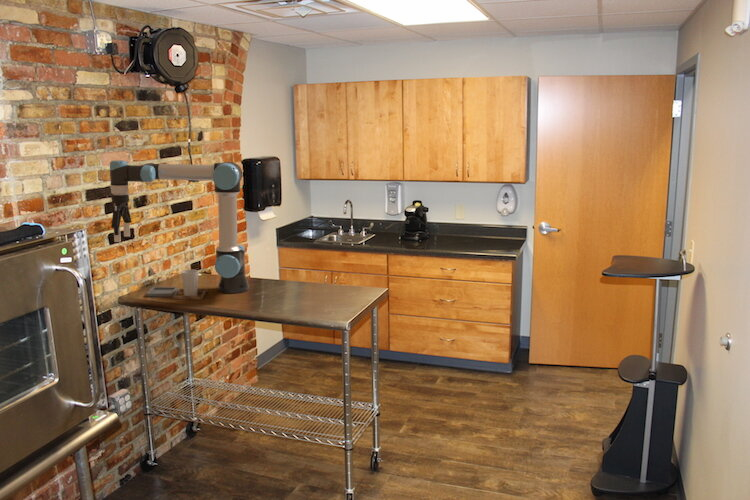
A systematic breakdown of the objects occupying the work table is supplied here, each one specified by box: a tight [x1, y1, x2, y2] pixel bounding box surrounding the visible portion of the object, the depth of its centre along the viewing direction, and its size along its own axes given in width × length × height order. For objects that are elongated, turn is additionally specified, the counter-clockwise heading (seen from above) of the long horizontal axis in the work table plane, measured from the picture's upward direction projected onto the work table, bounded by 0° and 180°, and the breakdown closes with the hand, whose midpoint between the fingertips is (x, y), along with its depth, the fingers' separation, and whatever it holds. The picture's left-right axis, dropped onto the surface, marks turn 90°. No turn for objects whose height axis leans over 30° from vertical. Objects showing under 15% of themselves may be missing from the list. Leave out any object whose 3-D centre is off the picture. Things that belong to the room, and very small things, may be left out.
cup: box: [181, 269, 199, 296], centre depth 297 cm, size 8×8×12 cm
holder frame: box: [172, 288, 208, 300], centre depth 298 cm, size 14×14×2 cm
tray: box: [146, 286, 179, 298], centre depth 299 cm, size 12×12×2 cm
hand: (122, 239), depth 288 cm, fingers open, 13 cm apart
